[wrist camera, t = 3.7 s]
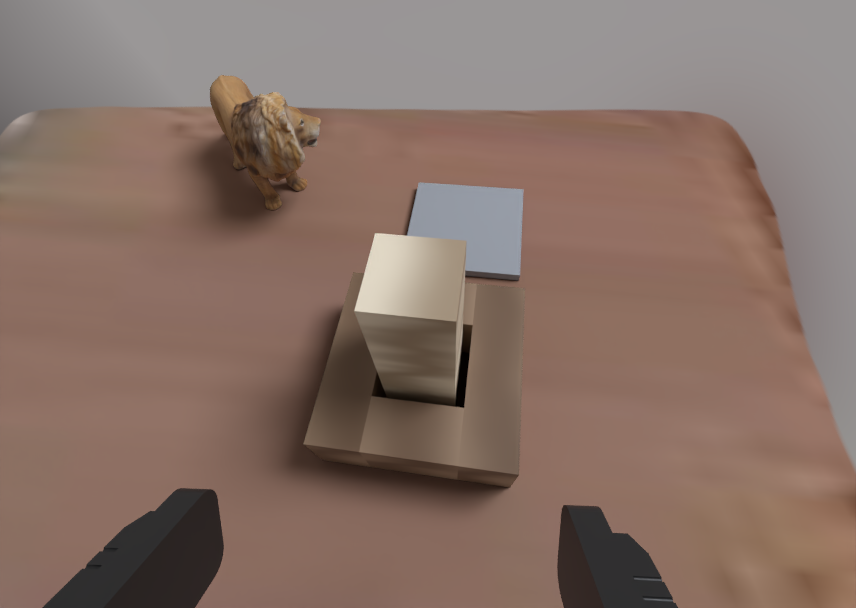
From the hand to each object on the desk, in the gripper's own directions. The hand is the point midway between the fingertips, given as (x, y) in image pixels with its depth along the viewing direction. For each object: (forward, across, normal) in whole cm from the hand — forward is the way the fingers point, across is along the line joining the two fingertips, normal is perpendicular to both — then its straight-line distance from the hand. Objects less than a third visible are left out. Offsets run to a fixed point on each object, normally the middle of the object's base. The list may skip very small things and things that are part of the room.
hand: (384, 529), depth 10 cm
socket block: (+15, 0, +3) cm, 15 cm away
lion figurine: (+28, +13, -10) cm, 32 cm away
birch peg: (+15, 0, +3) cm, 15 cm away
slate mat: (+23, -2, -5) cm, 24 cm away
